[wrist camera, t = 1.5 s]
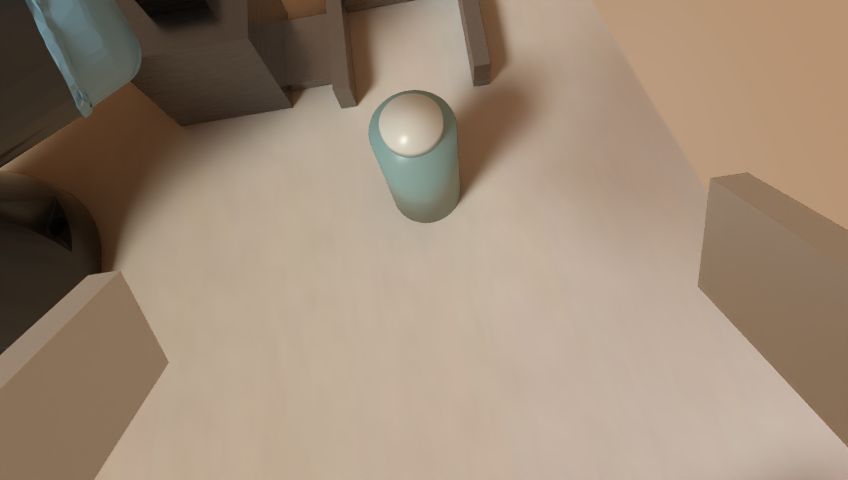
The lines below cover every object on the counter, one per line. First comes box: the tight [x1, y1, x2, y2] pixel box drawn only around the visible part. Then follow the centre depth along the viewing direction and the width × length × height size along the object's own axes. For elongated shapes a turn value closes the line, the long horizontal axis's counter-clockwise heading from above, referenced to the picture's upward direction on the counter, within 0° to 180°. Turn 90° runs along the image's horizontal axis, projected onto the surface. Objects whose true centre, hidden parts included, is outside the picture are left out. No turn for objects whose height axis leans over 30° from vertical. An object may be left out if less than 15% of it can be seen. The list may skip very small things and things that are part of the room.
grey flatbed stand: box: [115, 0, 491, 126], centre depth 35 cm, size 10×24×10 cm, turn 97°
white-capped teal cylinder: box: [369, 90, 460, 223], centre depth 31 cm, size 5×5×10 cm
